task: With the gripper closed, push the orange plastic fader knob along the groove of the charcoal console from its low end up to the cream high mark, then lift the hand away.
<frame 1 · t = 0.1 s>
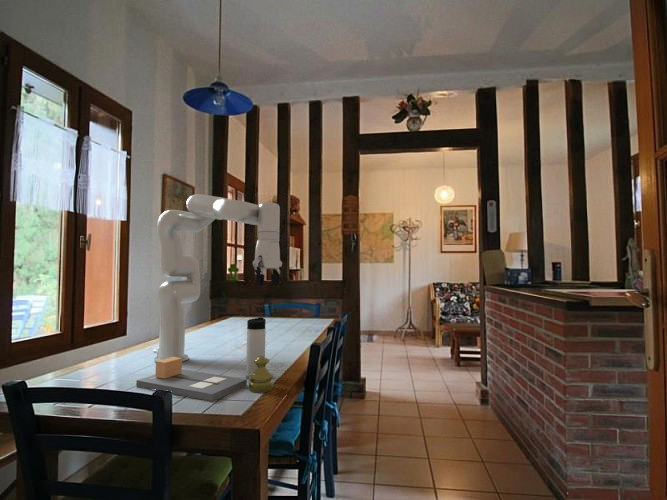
hand: (267, 285, 138), 31 cm above the table, tool pointing down, fingers open, 9 cm apart
fader knob: (169, 367, 126), point 5 cm above the table, slide at 0.0 cm
olive metallic turned piece: (260, 390, 120), on the table
travel mug: (255, 377, 133), on the table
fader console: (192, 386, 122), on the table
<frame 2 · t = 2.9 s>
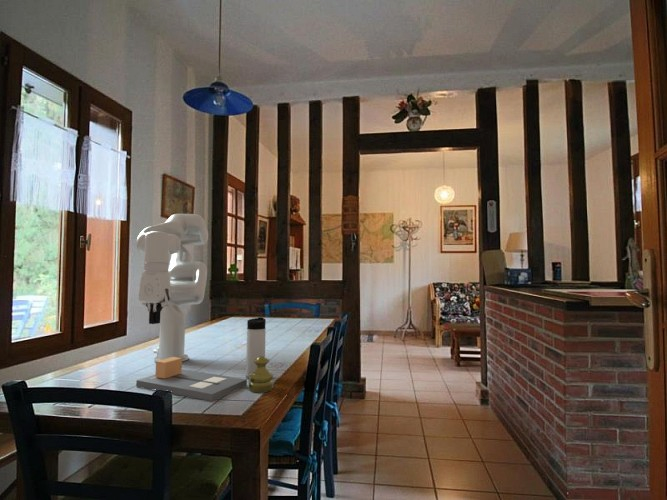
hand: (154, 323, 130), 18 cm above the table, tool pointing down, fingers closed
nothing on the table moved.
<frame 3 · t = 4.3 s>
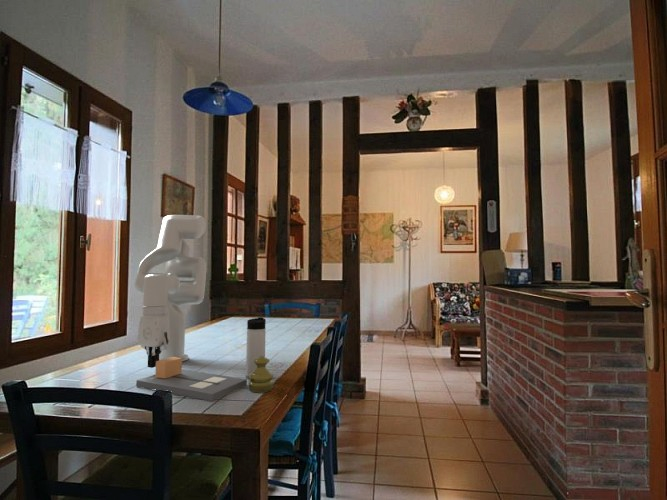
hand: (153, 366, 129), 4 cm above the table, tool pointing down, fingers closed
nothing on the table moved.
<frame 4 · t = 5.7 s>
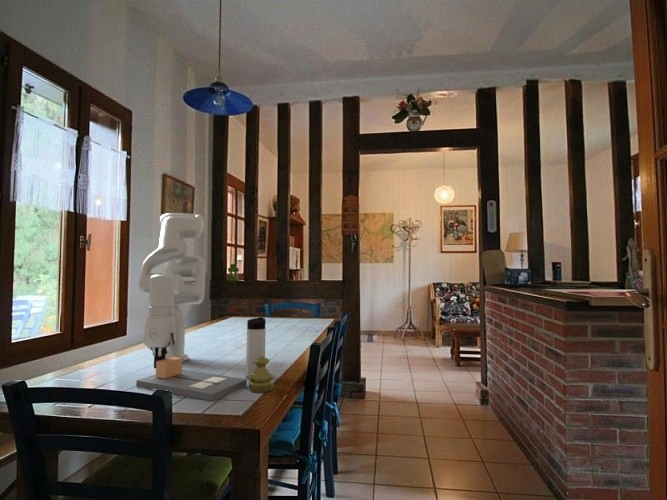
hand: (159, 367, 128), 4 cm above the table, tool pointing down, fingers closed
fader knob: (169, 367, 126), point 5 cm above the table, slide at 0.2 cm, touching gripper
everything else where it was.
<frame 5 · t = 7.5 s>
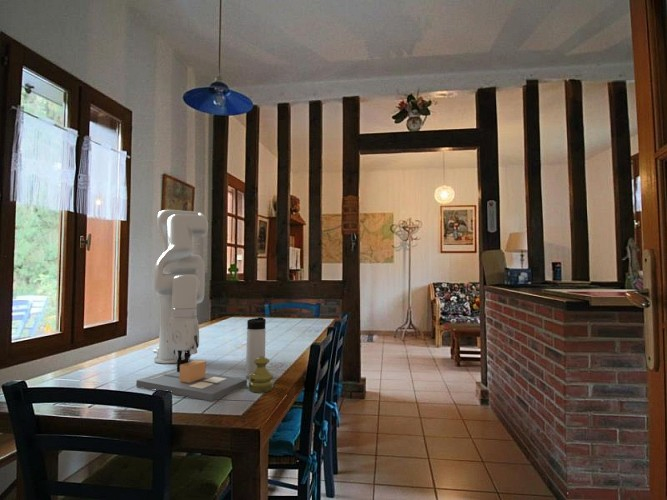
hand: (182, 371, 124), 4 cm above the table, tool pointing down, fingers closed
fader knob: (192, 371, 122), point 5 cm above the table, slide at 10.2 cm, touching gripper
everything else where it was.
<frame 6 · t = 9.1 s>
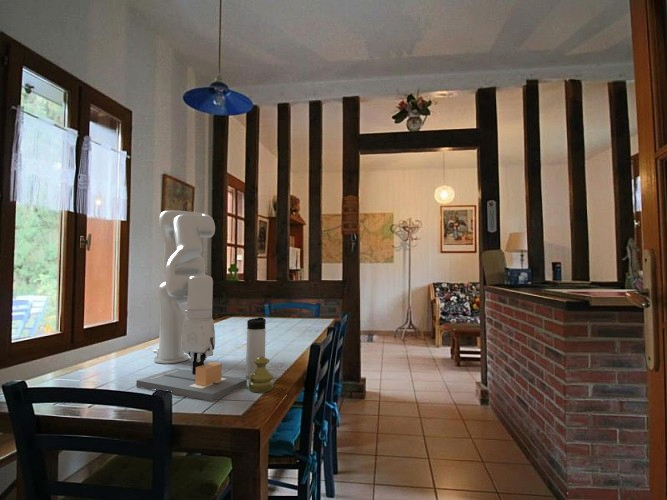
hand: (197, 373, 121), 4 cm above the table, tool pointing down, fingers closed
fader knob: (208, 373, 120), point 5 cm above the table, slide at 16.6 cm, touching gripper
everything else where it was.
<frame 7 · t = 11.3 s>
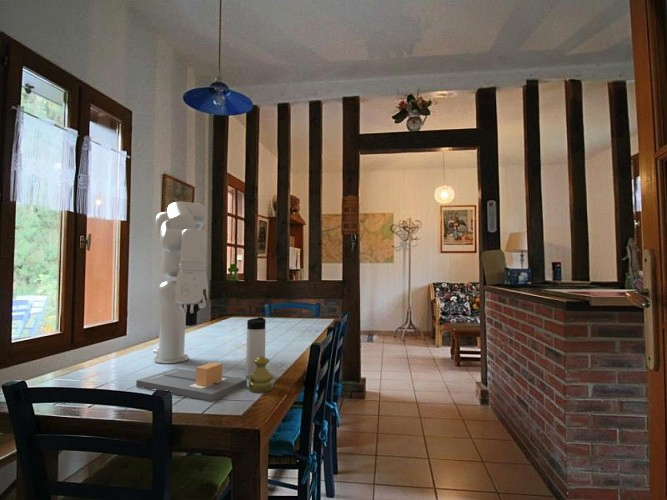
hand: (191, 325, 124), 19 cm above the table, tool pointing down, fingers closed
fader knob: (209, 373, 120), point 5 cm above the table, slide at 16.8 cm
everything else where it was.
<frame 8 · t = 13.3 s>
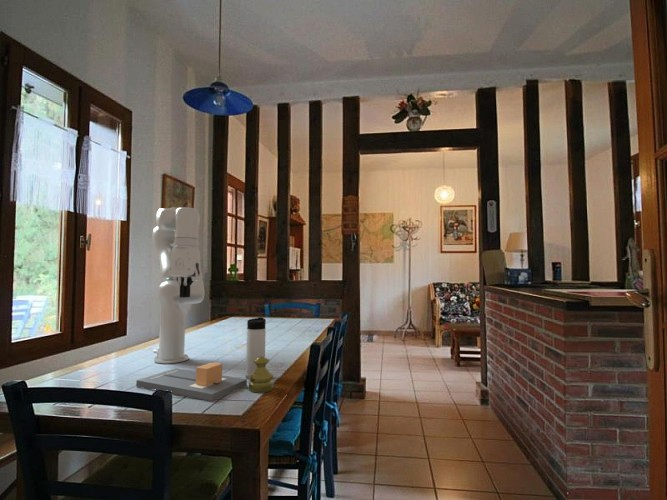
hand: (184, 297, 133), 27 cm above the table, tool pointing down, fingers closed
nothing on the table moved.
at the end: fader knob slide at 16.8 cm; travel mug moved 0.2 cm from its start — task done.
